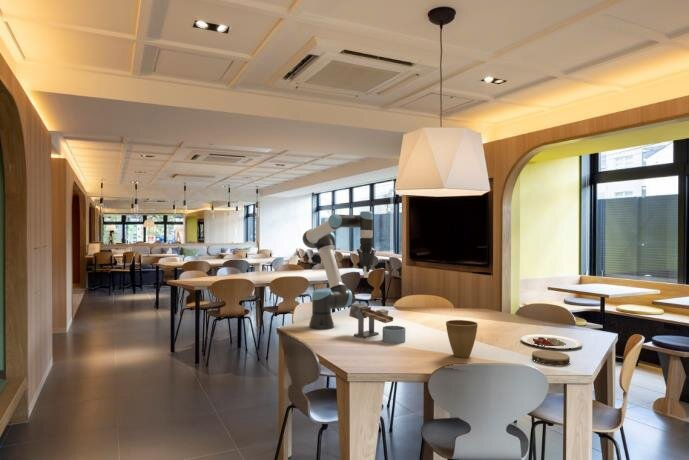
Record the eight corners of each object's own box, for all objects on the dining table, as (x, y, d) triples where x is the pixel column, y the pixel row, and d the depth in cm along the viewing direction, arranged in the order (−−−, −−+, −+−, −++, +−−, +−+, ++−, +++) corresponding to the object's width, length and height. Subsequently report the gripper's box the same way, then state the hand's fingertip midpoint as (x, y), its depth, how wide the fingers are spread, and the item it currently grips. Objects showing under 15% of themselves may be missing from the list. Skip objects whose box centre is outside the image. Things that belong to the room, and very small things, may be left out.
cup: (378, 341, 247) (378, 328, 247) (391, 337, 256) (391, 324, 256) (397, 344, 239) (397, 331, 239) (409, 340, 248) (409, 327, 248)
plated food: (583, 342, 249) (583, 335, 249) (580, 354, 223) (580, 347, 223) (525, 335, 264) (525, 329, 264) (515, 346, 238) (516, 340, 238)
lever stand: (353, 336, 257) (353, 312, 257) (367, 332, 267) (367, 309, 267) (364, 338, 252) (365, 314, 252) (378, 334, 262) (378, 311, 262)
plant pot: (482, 355, 219) (483, 322, 219) (468, 361, 208) (468, 327, 208) (454, 349, 229) (455, 318, 229) (439, 355, 218) (440, 322, 218)
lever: (349, 316, 263) (350, 304, 262) (364, 312, 274) (365, 301, 273) (384, 328, 247) (386, 316, 246) (398, 324, 258) (400, 313, 257)
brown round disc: (546, 354, 222) (547, 348, 222) (577, 363, 208) (577, 356, 208) (524, 359, 215) (524, 352, 215) (554, 368, 201) (554, 361, 201)
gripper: (353, 237, 269) (353, 277, 269) (371, 237, 261) (371, 278, 261) (361, 237, 275) (361, 276, 275) (379, 237, 266) (378, 277, 266)
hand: (366, 277), depth 268 cm, fingers closed
